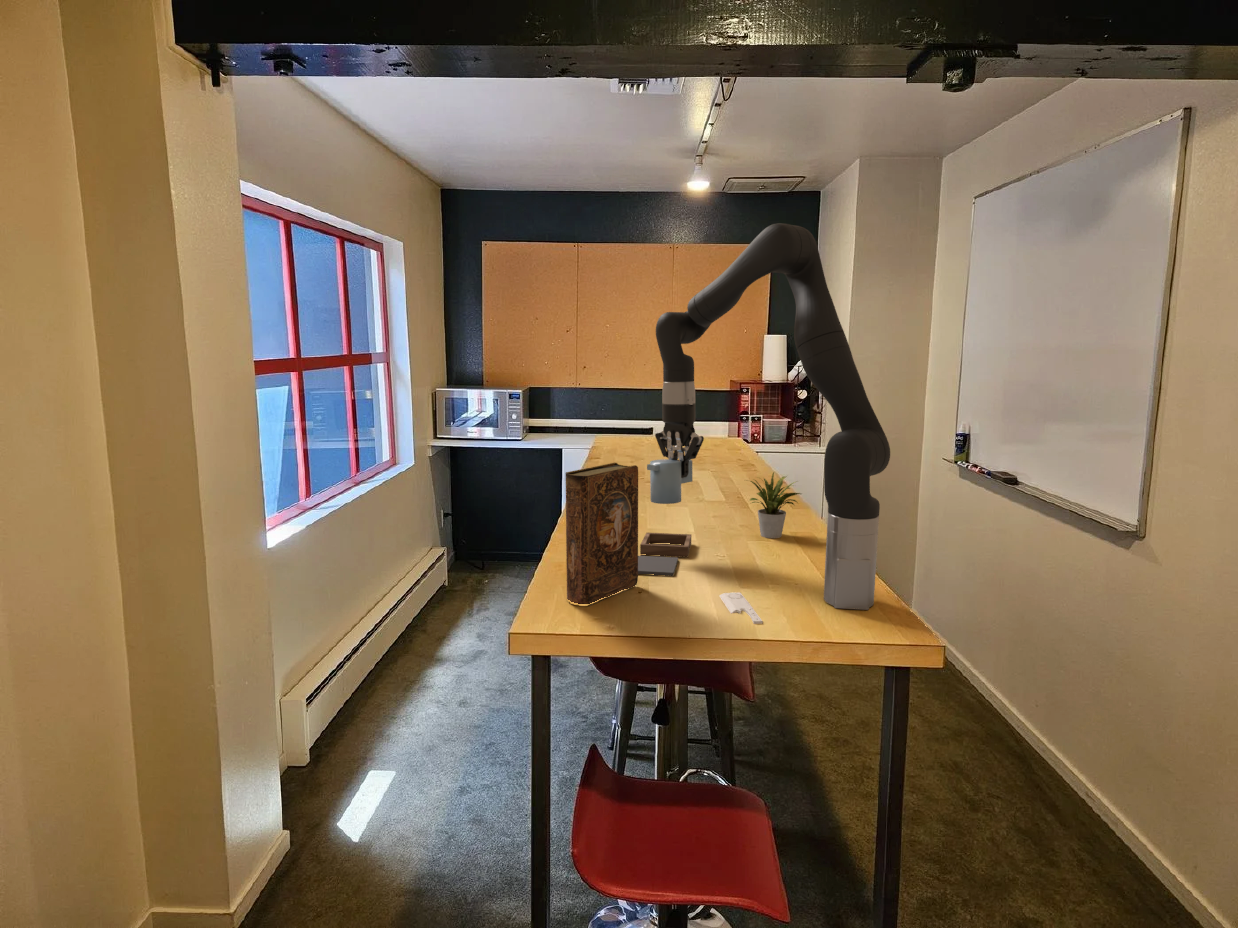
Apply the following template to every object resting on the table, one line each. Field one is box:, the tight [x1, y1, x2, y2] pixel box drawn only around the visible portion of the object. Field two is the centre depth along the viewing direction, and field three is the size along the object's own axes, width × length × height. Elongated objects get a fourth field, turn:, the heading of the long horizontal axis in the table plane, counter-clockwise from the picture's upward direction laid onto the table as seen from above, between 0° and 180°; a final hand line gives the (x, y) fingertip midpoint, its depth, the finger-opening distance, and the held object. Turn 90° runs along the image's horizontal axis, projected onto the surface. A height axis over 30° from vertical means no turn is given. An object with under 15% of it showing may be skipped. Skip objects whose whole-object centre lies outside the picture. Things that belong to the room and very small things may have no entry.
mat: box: [638, 555, 679, 577], centre depth 165 cm, size 11×11×1 cm
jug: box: [646, 458, 693, 505], centre depth 172 cm, size 13×7×9 cm, turn 133°
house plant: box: [745, 471, 802, 539], centre depth 189 cm, size 14×14×16 cm
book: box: [565, 462, 639, 604], centre depth 147 cm, size 16×6×25 cm, turn 141°
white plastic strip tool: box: [718, 591, 764, 625], centre depth 141 cm, size 5×15×1 cm, turn 5°
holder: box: [639, 532, 692, 558], centre depth 179 cm, size 11×11×2 cm
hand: (679, 476), depth 174 cm, fingers closed on jug
